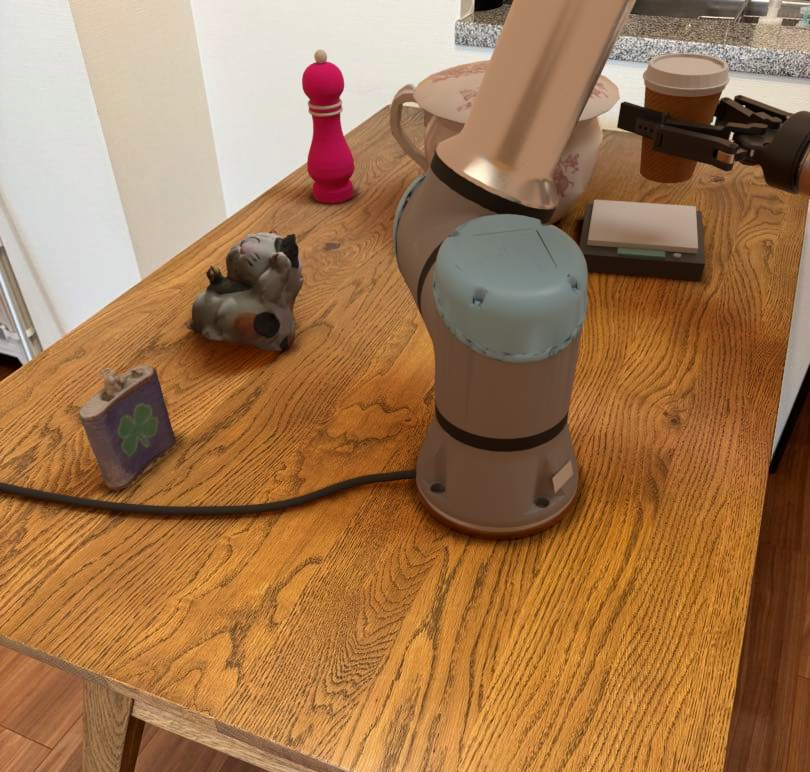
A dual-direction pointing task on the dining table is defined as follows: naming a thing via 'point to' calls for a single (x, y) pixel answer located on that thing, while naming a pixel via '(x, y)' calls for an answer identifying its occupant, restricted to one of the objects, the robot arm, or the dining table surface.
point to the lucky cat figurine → (252, 294)
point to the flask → (127, 425)
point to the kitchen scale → (643, 239)
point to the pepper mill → (327, 132)
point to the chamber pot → (451, 104)
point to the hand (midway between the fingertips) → (645, 106)
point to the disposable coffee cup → (680, 105)
